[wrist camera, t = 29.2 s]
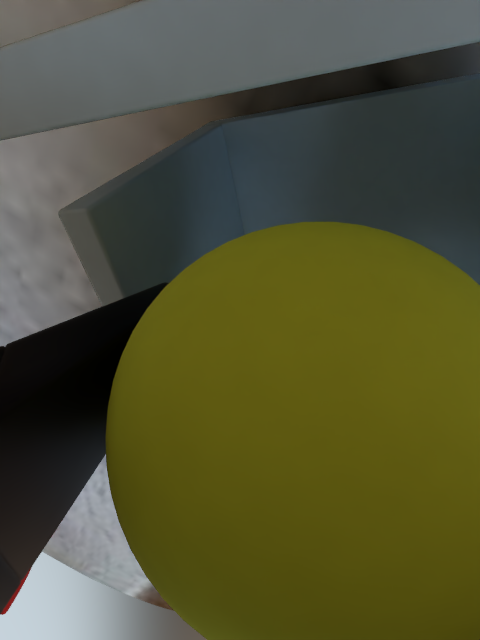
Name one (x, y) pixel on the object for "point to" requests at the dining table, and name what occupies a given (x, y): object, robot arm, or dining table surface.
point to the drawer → (257, 128)
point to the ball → (306, 439)
